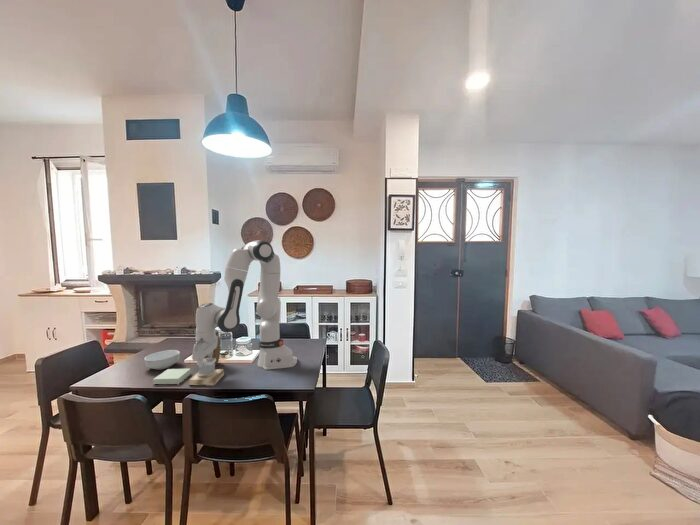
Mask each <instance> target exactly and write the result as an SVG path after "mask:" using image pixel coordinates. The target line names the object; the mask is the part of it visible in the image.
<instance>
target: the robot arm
mask: <svg viewBox="0 0 700 525" xmlns="http://www.w3.org/2000/svg"><path fill="white" fill-rule="evenodd" d="M253 261H256V262H257V261H259V263H260V275H259V276H260V277H259V278H260V279H259V289H258V296H257V302H256V303H257V304H256V309H255V310H256V313H257V315H258V316H259V318H260V322H259V340H258V348H259V353H258V354H259V356H258V360H257V363H256V364H257V366H258V368H259V367H260V368H261V369H262V368H263V370H275V369H276V370H278V369H286V368H287V369H288V368H293V367H294V366H296V365H297V364H298V357H297V356H294V352H293V350H292V349H291V348H290V347H289V346H286V345H285V344H284V338H281V337H280V336H281V334H280V322H281V300H280V298H279V293H280V288H281V287H280V286H281V262H280V257H279V255H277V254H276V253H275V252H274V249H273V246H272V244H271V243H270V242H268V241H266V240H260V239H259V240H258V239H257V240H250V241H248V242H246V243H245V244H244V245H243V246H242V247H241V248H235V249H233V251H231V254H230V256H229V257H228V261H227V263H226V267H225V270H224V282H225V284H226V286H227V291H228V295H227V299H226V304H225V307H223V306H218V305H216V304H214V303H213V302H205V303H202V304H200V305H199V306H198V307H197V308H196V311H195V324H196V328H195V344H194V345H193V348H192V357H191V359H192V361H194V362H196V363H197V362H198V364H199V365H198V368H199V367H203V366H204V363H203V361H202V360H203V358H204V357H205V356H207V355H208V357H207V358H212V354H213V350H214V349H215V348H216V347H217V344H218V336H217V335H218V334H220V332H219V330H220V331H221V332H223V333H232V332H234V331H235V330H237V329H238V328H239V326H240V323H241V316H240V306H241V301H242V296H243V291H244V287H245V282H246V279H247V275H248V272H249V268H250V266H251V263H252V262H253ZM216 328H219V330H218V331H215V330H216Z"/></svg>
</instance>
